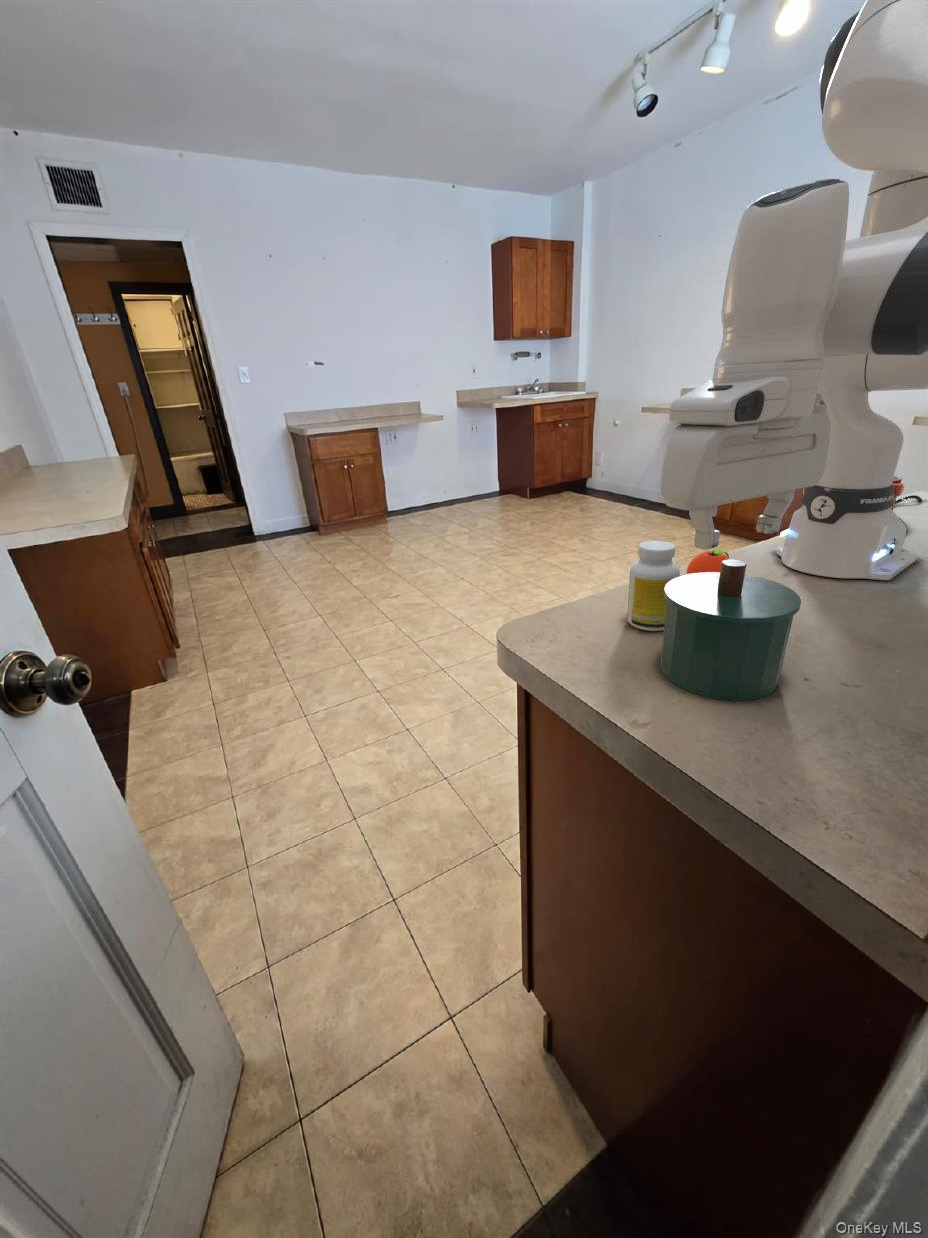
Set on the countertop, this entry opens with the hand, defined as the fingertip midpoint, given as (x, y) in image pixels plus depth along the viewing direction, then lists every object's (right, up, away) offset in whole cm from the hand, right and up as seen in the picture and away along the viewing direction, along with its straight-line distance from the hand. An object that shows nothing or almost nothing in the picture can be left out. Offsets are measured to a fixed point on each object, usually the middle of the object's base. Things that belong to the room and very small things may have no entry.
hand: (737, 539), depth 54 cm
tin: (+1, -15, +7) cm, 16 cm away
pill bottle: (-2, -9, +20) cm, 22 cm away
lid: (+1, -6, +3) cm, 7 cm away
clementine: (+11, -4, +28) cm, 31 cm away
